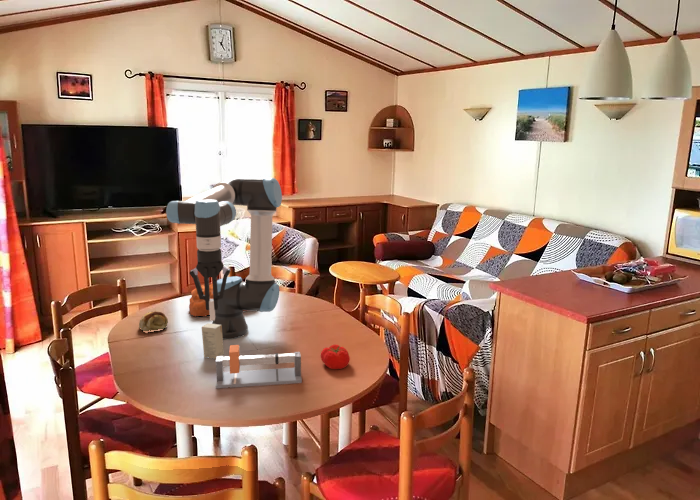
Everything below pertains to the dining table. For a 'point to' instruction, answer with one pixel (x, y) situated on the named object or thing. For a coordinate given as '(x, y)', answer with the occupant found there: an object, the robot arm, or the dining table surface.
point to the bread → (200, 302)
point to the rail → (260, 362)
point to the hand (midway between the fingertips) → (212, 319)
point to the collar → (234, 359)
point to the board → (259, 378)
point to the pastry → (153, 321)
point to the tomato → (335, 357)
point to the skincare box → (212, 340)
